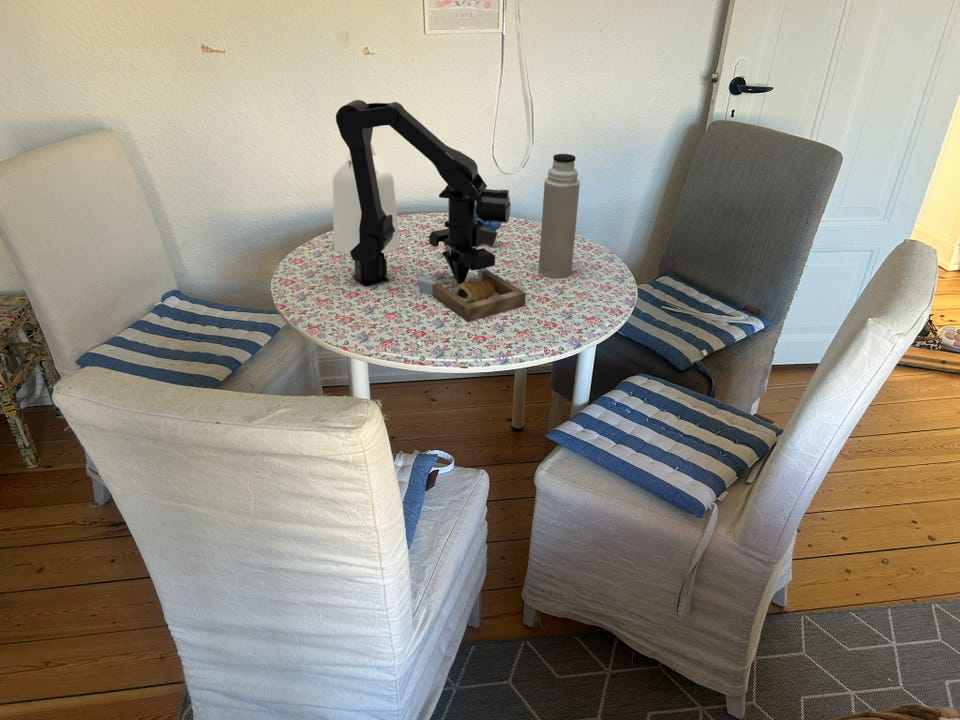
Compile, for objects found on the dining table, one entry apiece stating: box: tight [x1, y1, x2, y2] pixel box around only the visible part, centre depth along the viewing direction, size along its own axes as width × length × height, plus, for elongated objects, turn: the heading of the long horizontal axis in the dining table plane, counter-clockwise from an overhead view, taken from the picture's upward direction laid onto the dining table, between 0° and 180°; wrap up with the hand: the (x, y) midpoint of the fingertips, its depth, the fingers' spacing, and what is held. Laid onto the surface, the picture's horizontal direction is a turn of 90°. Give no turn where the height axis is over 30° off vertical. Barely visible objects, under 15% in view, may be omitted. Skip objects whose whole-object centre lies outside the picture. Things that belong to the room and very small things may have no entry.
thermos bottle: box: [538, 153, 581, 279], centre depth 167 cm, size 8×8×28 cm
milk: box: [332, 144, 400, 256], centre depth 178 cm, size 12×12×26 cm
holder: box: [418, 267, 527, 323], centre depth 160 cm, size 18×18×3 cm
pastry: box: [453, 280, 496, 304], centre depth 161 cm, size 9×7×4 cm
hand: (460, 283), depth 164 cm, fingers closed
